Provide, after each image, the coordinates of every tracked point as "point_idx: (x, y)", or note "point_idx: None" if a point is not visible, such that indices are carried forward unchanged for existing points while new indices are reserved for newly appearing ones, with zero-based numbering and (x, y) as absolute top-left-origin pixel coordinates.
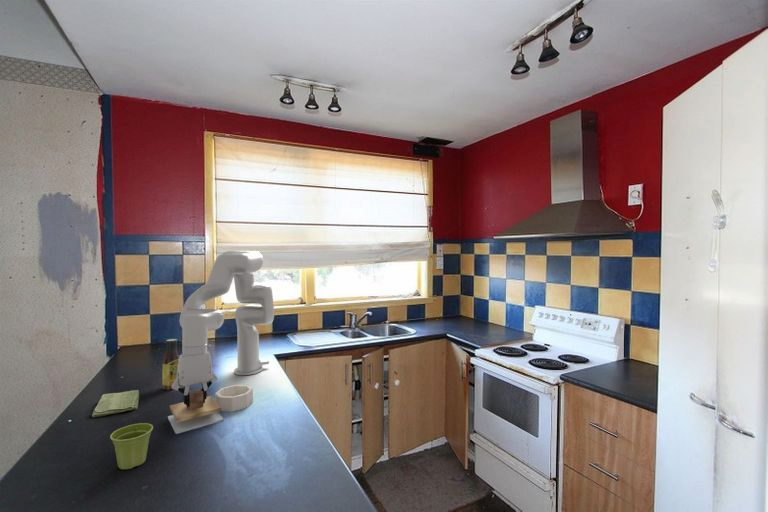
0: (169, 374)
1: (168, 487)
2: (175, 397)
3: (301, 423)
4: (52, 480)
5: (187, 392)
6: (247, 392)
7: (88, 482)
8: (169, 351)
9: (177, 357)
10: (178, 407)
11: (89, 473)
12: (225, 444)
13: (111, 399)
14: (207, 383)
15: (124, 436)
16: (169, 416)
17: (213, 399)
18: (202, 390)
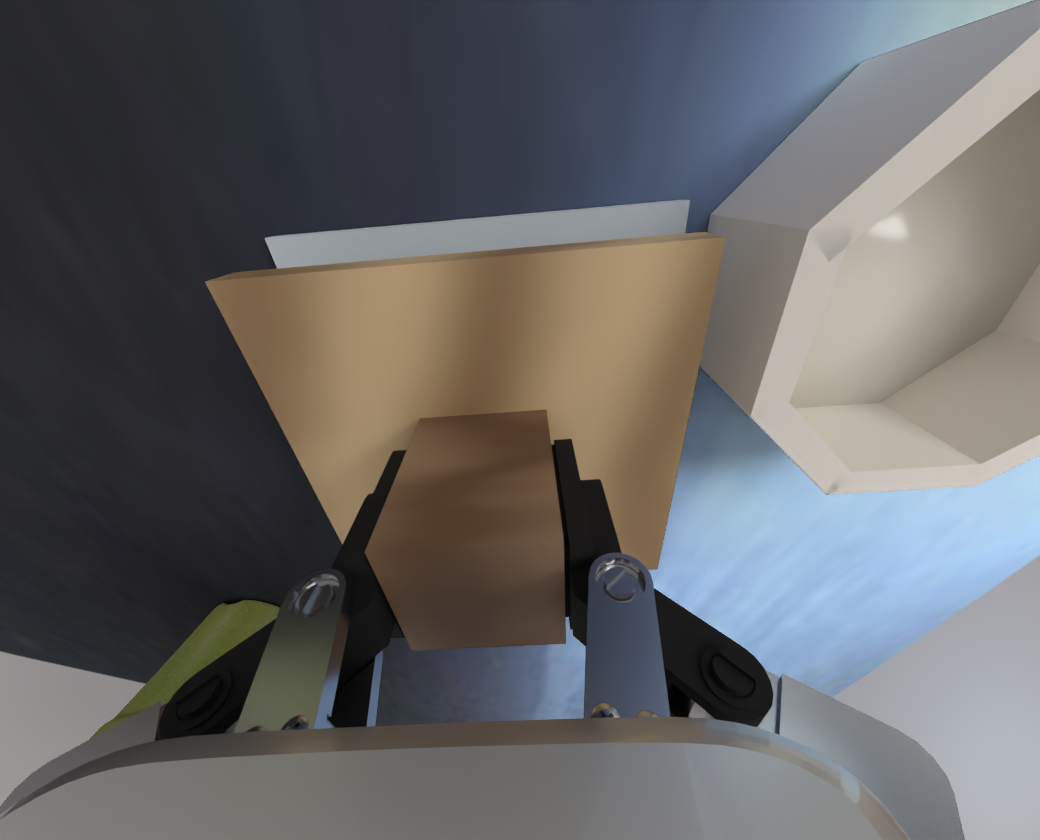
0: None
1: (400, 714)
2: None
3: (860, 651)
4: (5, 602)
5: (371, 672)
6: (1027, 452)
7: (163, 646)
8: None
9: None
10: (334, 404)
11: (127, 614)
12: (568, 649)
13: None
14: (686, 668)
15: (131, 708)
16: (282, 254)
17: (688, 392)
18: (571, 610)
